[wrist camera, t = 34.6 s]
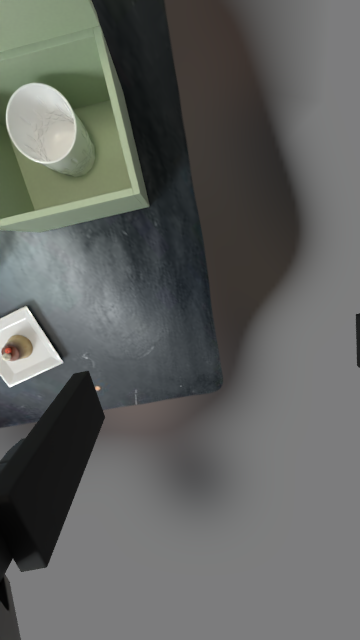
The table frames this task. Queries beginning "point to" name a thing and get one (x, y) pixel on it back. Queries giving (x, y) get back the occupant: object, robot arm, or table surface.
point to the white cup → (49, 130)
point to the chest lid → (42, 20)
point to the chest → (99, 121)
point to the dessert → (24, 348)
